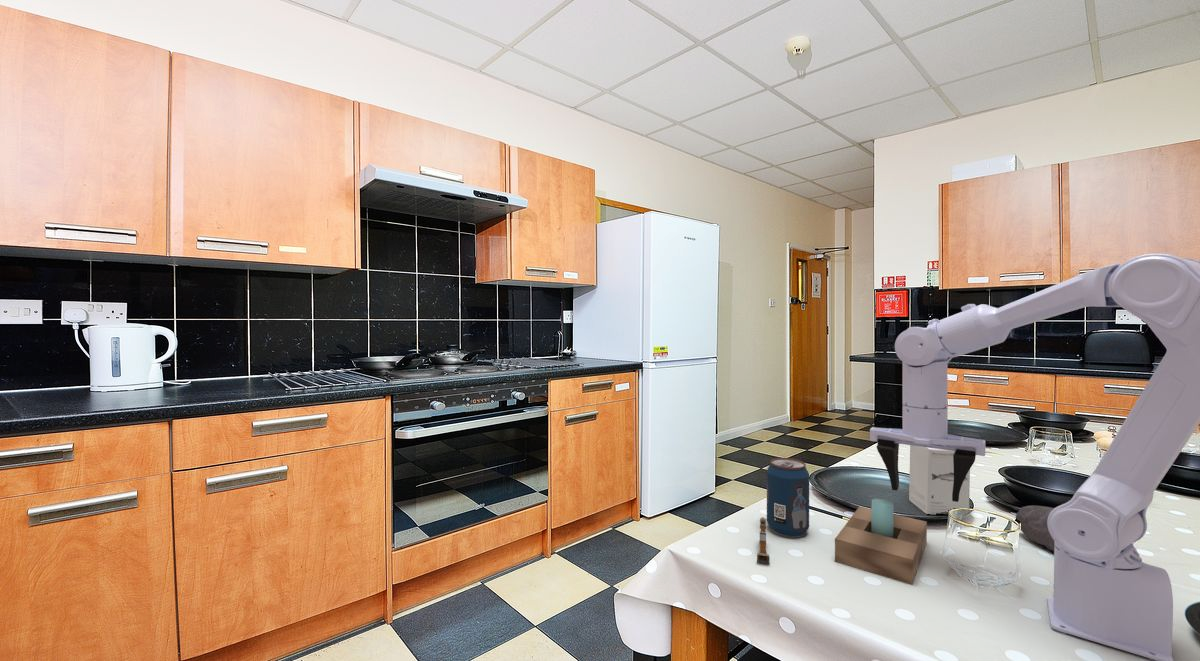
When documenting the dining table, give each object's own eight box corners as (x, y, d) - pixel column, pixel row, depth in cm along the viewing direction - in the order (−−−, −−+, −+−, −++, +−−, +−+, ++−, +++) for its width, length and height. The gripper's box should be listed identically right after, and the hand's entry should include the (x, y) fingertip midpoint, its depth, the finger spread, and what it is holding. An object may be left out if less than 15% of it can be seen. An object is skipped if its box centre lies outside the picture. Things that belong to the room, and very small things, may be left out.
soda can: (776, 518, 88) (777, 454, 88) (815, 529, 84) (815, 462, 83) (759, 530, 83) (759, 462, 83) (799, 543, 79) (800, 471, 78)
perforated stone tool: (1003, 533, 82) (1004, 493, 82) (1031, 532, 82) (1031, 492, 82) (1104, 581, 67) (1105, 532, 67) (1137, 579, 67) (1138, 530, 67)
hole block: (926, 542, 79) (926, 521, 78) (912, 584, 66) (912, 559, 66) (859, 525, 85) (859, 506, 85) (834, 561, 73) (835, 538, 73)
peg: (894, 550, 76) (894, 501, 76) (892, 558, 74) (892, 507, 73) (872, 545, 78) (873, 497, 78) (869, 553, 75) (870, 502, 75)
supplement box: (926, 515, 89) (927, 448, 89) (908, 500, 97) (908, 438, 96) (970, 518, 88) (971, 450, 88) (948, 502, 95) (949, 440, 95)
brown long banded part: (768, 534, 80) (768, 514, 78) (769, 576, 73) (769, 555, 71) (757, 533, 81) (757, 513, 79) (757, 574, 74) (756, 553, 72)
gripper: (865, 404, 75) (865, 490, 75) (985, 415, 65) (984, 513, 66) (874, 398, 80) (874, 479, 80) (985, 407, 71) (985, 498, 71)
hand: (924, 493), depth 73 cm, fingers open, 7 cm apart
